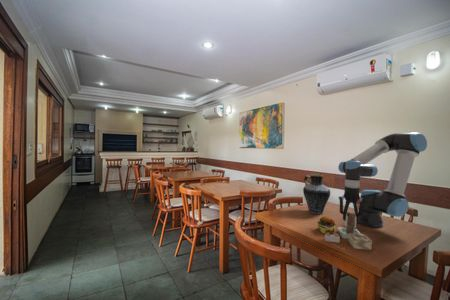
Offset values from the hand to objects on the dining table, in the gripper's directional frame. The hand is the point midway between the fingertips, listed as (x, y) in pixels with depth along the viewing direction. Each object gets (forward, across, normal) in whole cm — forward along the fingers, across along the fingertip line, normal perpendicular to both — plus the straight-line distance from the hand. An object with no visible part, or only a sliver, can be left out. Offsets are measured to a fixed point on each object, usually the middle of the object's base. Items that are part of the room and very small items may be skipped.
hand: (350, 226), depth 128 cm
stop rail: (+6, +12, +11) cm, 17 cm away
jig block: (+6, -1, +13) cm, 14 cm away
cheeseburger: (+6, +12, -4) cm, 14 cm away
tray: (+6, 0, 0) cm, 6 cm away
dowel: (+4, 0, 0) cm, 4 cm away
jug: (+6, +13, -41) cm, 43 cm away
